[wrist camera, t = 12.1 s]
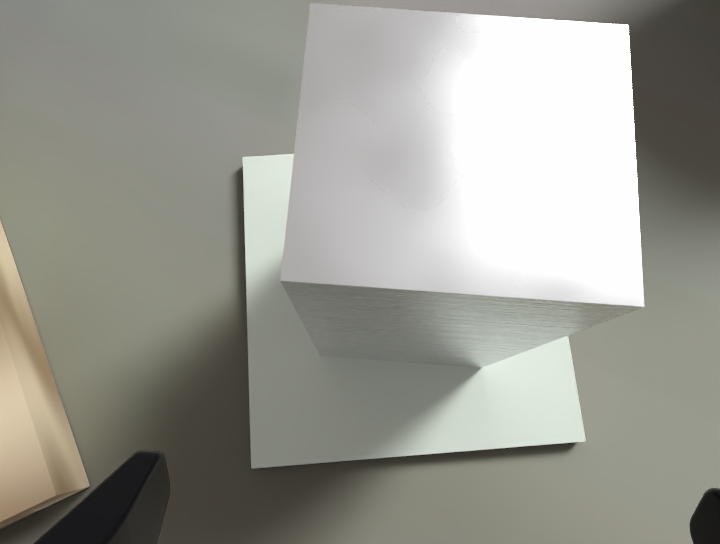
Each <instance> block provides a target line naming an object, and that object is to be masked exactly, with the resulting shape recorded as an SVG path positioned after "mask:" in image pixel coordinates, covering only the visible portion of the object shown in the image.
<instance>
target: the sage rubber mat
mask: <svg viewBox="0 0 720 544" xmlns="http://www.w3.org/2000/svg"><path fill="white" fill-rule="evenodd" d="M293 159H294V154H286V155H270V156H255V157H243V186H244V223H245V259H246V296H247V332H248V369H249V406H250V442H251V469H252V468H265V467H277V466H289V465H302V464H314V463H326V462H338V461H351V460H363V459H375V458H387V457H400V456H412V455H424V454H437V453H449V452H461V451H473V450H486V449H498V448H510V447H522V446H535V445H547V444H559V443H571V442H584V441H586V440H585V434H584V428H583V422H582V416H581V410H580V404H579V398H578V392H577V386H576V380H575V374H574V368H573V362H572V357H571V351H570V345H569V339H568V336H565V337H563V338H560V339H557V340H555V341H552V342H549V343H547V344H544V345H541V346H539V347H536V348H533V349H531V350H528V351H525V352H523V353H520V354H517V355H515V356H512V357H509V358H507V359H504V360H501V361H499V362H496V363H493V364H491V365H488V366H485V367H483V368H476V367H462V366H449V365H435V364H421V363H407V362H393V361H379V360H366V359H352V358H338V357H324V356H320V355H319V353H318V351H317V349H316V347H315V345H314V344H313V342H312V340H311V338H310V336H309V334H308V332H307V330H306V328H305V327H304V325H303V323H302V321H301V319H300V317H299V315H298V313H297V311H296V309H295V308H294V306H293V304H292V302H291V300H290V298H289V296H288V294H287V292H286V291H285V289H284V287H283V285H282V283H281V281H280V279H281V269H282V260H283V251H284V242H285V233H286V223H287V214H288V205H289V196H290V187H291V177H292V168H293Z"/></svg>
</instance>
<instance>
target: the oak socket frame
mask: <svg viewBox="0 0 720 544" xmlns="http://www.w3.org/2000/svg"><path fill="white" fill-rule="evenodd" d="M88 487H90V484H89V481H88V478H87V475H86V472H85V469H84V466H83V463H82V460H81V457H80V455H79V452H78V449H77V446H76V443H75V440H74V437H73V434H72V431H71V428H70V425H69V422H68V419H67V416H66V413H65V410H64V407H63V404H62V401H61V398H60V395H59V392H58V389H57V386H56V383H55V380H54V377H53V374H52V372H51V369H50V366H49V363H48V360H47V357H46V354H45V351H44V348H43V345H42V342H41V339H40V336H39V333H38V330H37V327H36V324H35V321H34V318H33V315H32V312H31V309H30V306H29V303H28V300H27V297H26V294H25V292H24V289H23V286H22V283H21V280H20V277H19V274H18V271H17V268H16V265H15V262H14V259H13V256H12V253H11V250H10V247H9V244H8V241H7V238H6V235H5V232H4V229H3V226H2V223H1V220H0V529H1V528H4V527H6V526H8V525H10V524H12V523H14V522H16V521H18V520H20V519H22V518H25V517H27V516H29V515H31V514H33V513H35V512H37V511H39V510H41V509H43V508H46V507H48V506H50V505H52V504H54V503H56V502H58V501H60V500H62V499H64V498H67V497H69V496H71V495H73V494H75V493H77V492H79V491H81V490H83V489H85V488H88Z"/></svg>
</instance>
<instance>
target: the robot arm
mask: <svg viewBox="0 0 720 544" xmlns="http://www.w3.org/2000/svg"><path fill="white" fill-rule="evenodd" d="M169 494H170V482H169V476H168V470H167V464H166V458H165V455H164V454H163V453H162V452H160V451H145V450H142V451H138V452H136V453H135V454H133V455H132V456H131V457H130V458H129V459H128V460H127V461H126V462H124V463H123V464H122V465H121V466H120V467H119V468H118V469H117V470H115V471H114V472H113V473H112V474H111V475H110V476H109V477H108V478H106V479H105V480H104V481H103V482H102V483H101V484H100V485H99V486H98V487H96V488H95V489H94V490H93V491H92V492H91V493H90V494H89V495H87V496H86V497H85V498H84V499H83V500H82V501H81V502H80V503H78V504H77V505H76V506H75V507H74V508H73V509H72V510H71V511H69V512H68V513H67V514H66V515H65V516H64V517H63V518H62V519H61V520H59V521H58V522H57V523H56V524H55V525H54V526H53V527H52V528H50V529H49V530H48V531H47V532H46V533H45V534H44V535H43V536H41V537H40V538H39V539H38V540H37V541H36V542H35V543H34V544H157V541H158V537H159V533H160V530H161V526H162V522H163V518H164V515H165V511H166V507H167V503H168V499H169ZM690 533H691V537H692V540H693V544H720V489H718V488H711V489H708V490H707V491H706V492H705V493H704V495H703V497H702V499H701V500H700V502H699V504H698V506H697V508H696V510H695V512H694V513H693V515H692V517H691V520H690Z"/></svg>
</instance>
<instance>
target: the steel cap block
mask: <svg viewBox="0 0 720 544" xmlns="http://www.w3.org/2000/svg"><path fill="white" fill-rule="evenodd" d="M280 281H281V283H282V285H283V287H284V289H285V291H286V292H287V294H288V296H289V298H290V300H291V302H292V304H293V306H294V308H295V309H296V311H297V313H298V315H299V317H300V319H301V321H302V323H303V325H304V327H305V328H306V330H307V332H308V334H309V336H310V338H311V340H312V342H313V344H314V345H315V347H316V349H317V351H318V353H319V355H320V356H324V357H338V358H352V359H366V360H379V361H393V362H407V363H421V364H435V365H449V366H462V367H476V368H483V367H485V366H488V365H491V364H493V363H496V362H499V361H501V360H504V359H507V358H509V357H512V356H515V355H517V354H520V353H523V352H525V351H528V350H531V349H533V348H536V347H539V346H541V345H544V344H547V343H549V342H552V341H555V340H557V339H560V338H563V337H565V336H568V335H570V334H573V333H576V332H578V331H581V330H584V329H586V328H589V327H592V326H594V325H597V324H600V323H602V322H605V321H608V320H610V319H613V318H616V317H618V316H621V315H624V314H626V313H629V312H632V311H634V310H637V309H640V308H642V307H644V295H643V277H642V259H641V242H640V224H639V206H638V188H637V170H636V152H635V135H634V117H633V99H632V81H631V63H630V45H629V28H628V25H619V24H604V23H590V22H575V21H561V20H547V19H532V18H518V17H504V16H489V15H475V14H460V13H446V12H432V11H417V10H403V9H388V8H374V7H360V6H345V5H331V4H317V3H310V12H309V21H308V30H307V40H306V49H305V58H304V67H303V76H302V85H301V95H300V104H299V113H298V122H297V131H296V141H295V150H294V159H293V168H292V177H291V187H290V196H289V205H288V214H287V223H286V233H285V242H284V251H283V260H282V269H281V279H280Z"/></svg>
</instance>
